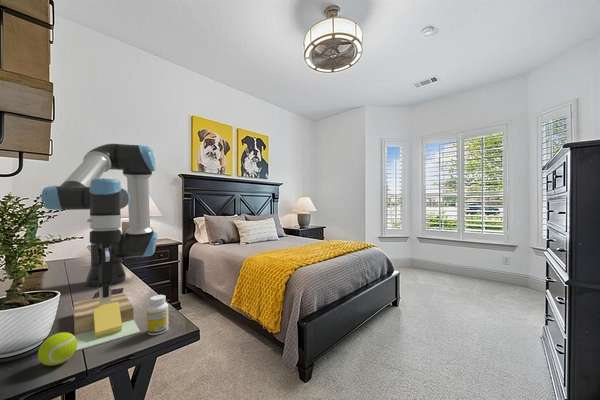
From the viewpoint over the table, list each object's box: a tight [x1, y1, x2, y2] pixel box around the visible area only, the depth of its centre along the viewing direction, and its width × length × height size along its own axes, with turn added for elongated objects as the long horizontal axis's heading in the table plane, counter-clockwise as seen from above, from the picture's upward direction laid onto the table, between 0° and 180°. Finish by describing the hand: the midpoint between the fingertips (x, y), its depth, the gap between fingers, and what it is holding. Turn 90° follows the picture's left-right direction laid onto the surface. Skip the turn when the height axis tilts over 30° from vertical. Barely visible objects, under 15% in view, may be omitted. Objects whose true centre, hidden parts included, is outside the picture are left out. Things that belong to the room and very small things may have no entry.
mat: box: [74, 319, 141, 352], centre depth 73 cm, size 10×14×1 cm
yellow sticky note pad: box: [93, 302, 122, 338], centre depth 75 cm, size 9×6×2 cm, turn 42°
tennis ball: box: [37, 331, 78, 367], centre depth 60 cm, size 7×7×7 cm
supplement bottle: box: [146, 294, 170, 336], centre depth 75 cm, size 5×5×10 cm
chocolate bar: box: [92, 287, 125, 299], centre depth 101 cm, size 9×1×18 cm
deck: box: [73, 292, 134, 336], centre depth 84 cm, size 18×14×4 cm
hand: (105, 307), depth 78 cm, fingers closed
